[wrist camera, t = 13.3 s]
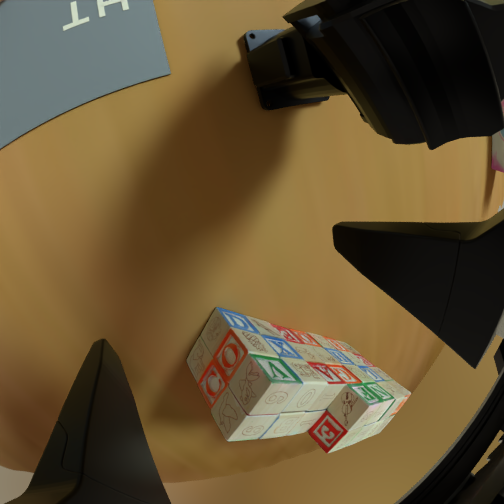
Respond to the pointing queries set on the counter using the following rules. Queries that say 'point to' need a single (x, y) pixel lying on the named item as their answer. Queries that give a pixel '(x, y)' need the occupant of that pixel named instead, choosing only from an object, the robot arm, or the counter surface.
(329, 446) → the stack of blocks
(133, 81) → the card
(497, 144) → the gum box
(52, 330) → the counter surface
